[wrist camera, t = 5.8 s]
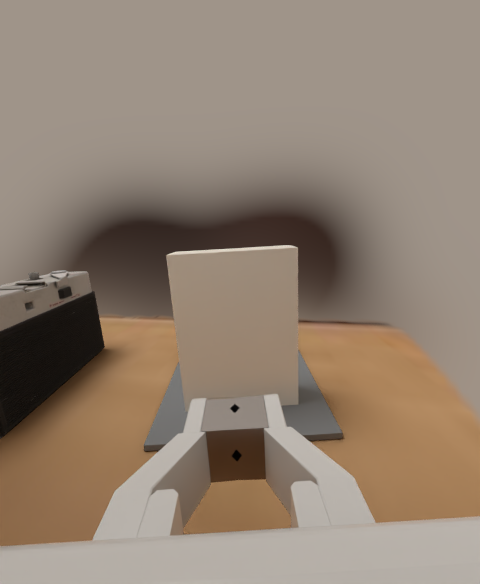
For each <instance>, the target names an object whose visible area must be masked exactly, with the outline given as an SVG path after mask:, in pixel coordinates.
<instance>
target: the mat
mask: <svg viewBox="0 0 480 584" xmlns="http://www.w3.org/2000/svg"><path fill="white" fill-rule="evenodd" d="M281 407H282V410H283V414H284V418H285V422H286V425H287V427H292V428H293V429H295V430H296V431H297V432H298V433H300V434H301V435H302V436H303V437H305V438H306V439H307V440H308V441H310V440H325V439H341V438H342V431H341V429H340V427H339V425H338V423H337V422H336V420H335V418H334V416H333V414H332V412H331V410H330V408H329V407H328V405H327V403H326V401H325V399H324V397H323V395H322V393H321V392H320V390H319V388H318V386H317V384H316V382H315V380H314V378H313V376H312V375H311V373H310V371H309V369H308V367H307V365H306V363H305V361H304V360H303V358H302V356H301V354H300V352H299V350H298V405H283V406H281ZM187 415H188V412H185V404H184V396H183V388H182V380H181V372H180V363H179V362H178V365H177V367H176V370H175V372H174V374H173V377H172V379H171V382H170V384H169V386H168V389H167V391H166V393H165V396H164V398H163V401H162V403H161V405H160V408H159V410H158V412H157V415H156V417H155V420H154V422H153V424H152V427H151V429H150V431H149V434H148V436H147V439H146V441H145V443H144V451H154V450H161V449H162V448H163V447H164V446H165V445H166V444H167V443H168V442H169V441H171V440H172V439H173V438H174V437H175V436H176V435H177V434H178V433H183V430H184V426H185V422H186V418H187Z"/></svg>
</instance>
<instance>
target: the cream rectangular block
mask: <svg viewBox="0 0 480 584" xmlns="http://www.w3.org/2000/svg"><path fill="white" fill-rule="evenodd" d="M166 257H167V266H168V274H169V281H170V290H171V298H172V306H173V314H174V323H175V331H176V339H177V347H178V355H179V363H180V372H181V380H182V388H183V396H184V404H185V412H188V411H189V407H190V403H191V401H192V399H198V398H220V397H246V396H260V395H267V394H278V395H279V399H280V403H281V406H283V405H298V248H297V247H294V246H290V245H285V246H268V247H253V248H234V249H217V250H200V251H183V252H174V253H171V254H168V255H167V256H166Z"/></svg>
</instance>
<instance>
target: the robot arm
mask: <svg viewBox="0 0 480 584" xmlns="http://www.w3.org/2000/svg"><path fill="white" fill-rule="evenodd" d="M259 479H266V482H267V483H268V484H269V486H270V487H271V489H272V490H273V491H274V493H275V494H276V496H277V497H278V498H279V500H280V501H281V503H282V504H283V505H284V507H285V508H286V510H287V511H288V512H289V514H290V515H291V528H283V529H267V530H251V531H235V532H219V533H203V534H187V535H184V532H183V528H184V527H185V525H186V523H187V522H188V520H189V519H190V517H191V515H192V514H193V512H194V511H195V509H196V507H197V506H198V504H199V503H200V501H201V499H202V498H203V496H204V495H205V493H206V491H207V490H208V488H209V487H210V485H211V483H212V482H223V481H234V480H259ZM0 584H480V516H476V517H460V518H444V519H429V520H413V521H397V522H381V523H376V522H375V520H374V518H373V516H372V514H371V512H370V510H369V508H368V506H367V504H366V502H365V499H364V497H363V495H362V493H361V491H360V489H359V487H358V485H357V483H356V481H355V479H354V477H353V476H352V475H351V474H349V473H348V472H347V471H346V470H344V469H343V468H342V467H341V466H339V465H338V464H337V463H336V462H334V461H333V460H332V459H331V458H330V457H328V456H327V455H326V454H325V453H323V452H322V451H321V450H320V449H318V448H317V447H316V446H315V445H313V444H312V443H311V442H310V441H308V440H307V439H306V438H305V437H303V436H302V435H301V434H300V433H298V432H297V431H296V430H295V429H293V428H292V427H287V425H286V422H285V418H284V414H283V410H282V407H281V403H280V399H279V395H278V394H267V395H260V396H246V397H220V398H198V399H192V401H191V403H190V407H189V411H188V415H187V418H186V422H185V426H184V430H183V433H178V434H177V435H176V436H175V437H174V438H173V439H172V440H171V441H169V442H168V443H167V444H166V445H165V446H164V447H163V448H162V449H161V450H160V451H158V452H157V453H156V454H155V455H154V456H153V457H152V458H151V459H150V460H149V461H147V462H146V463H145V464H144V465H143V466H142V467H141V468H140V469H139V470H138V471H136V472H135V473H134V474H133V475H132V476H131V477H130V478H129V479H128V480H126V481H125V482H124V483H123V484H122V485H121V486H120V487H119V488H118V489H117V490H115V492H114V494H113V496H112V498H111V501H110V503H109V505H108V507H107V509H106V511H105V514H104V516H103V518H102V520H101V522H100V524H99V527H98V529H97V531H96V533H95V535H94V537H93V540H92V541H76V542H60V543H44V544H28V545H12V546H0Z"/></svg>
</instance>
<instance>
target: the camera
mask: <svg viewBox="0 0 480 584" xmlns="http://www.w3.org/2000/svg"><path fill="white" fill-rule="evenodd" d="M29 278H30V279H26V280H22V281H17V282H13V283H9V284H5V285H0V438H2V437H3V436H4V435H5V434H7V433H8V432H9V431H10V430H11V429H12V428H13V427H14V426H16V425H17V424H18V423H19V422H20V421H21V420H22V419H24V418H25V417H26V416H27V415H28V414H29V413H30V412H32V411H33V410H34V409H35V408H36V407H37V406H38V405H40V404H41V403H42V402H43V401H44V400H45V399H46V398H48V397H49V396H50V395H51V394H52V393H53V392H55V391H56V390H57V389H58V388H59V387H60V386H61V385H63V384H64V383H65V382H66V381H67V380H68V379H69V378H71V377H72V376H73V375H74V374H75V373H76V372H77V371H79V370H80V369H81V368H82V367H83V366H84V365H85V364H87V363H88V362H89V361H90V360H91V359H92V358H93V357H94V356H96V355H97V354H98V353H99V352H100V351H101V350H102V349H103V348H104V347H105V346H104V341H103V336H102V330H101V325H100V320H99V314H98V309H97V304H96V298H95V292H92V291H91V286H90V281H89V275H88V272H86V271H84V272H67V271H65V270H63V271H53V272H51V273H50V274H47V275H43V276H39V274H38V272H35V273H29Z"/></svg>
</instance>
